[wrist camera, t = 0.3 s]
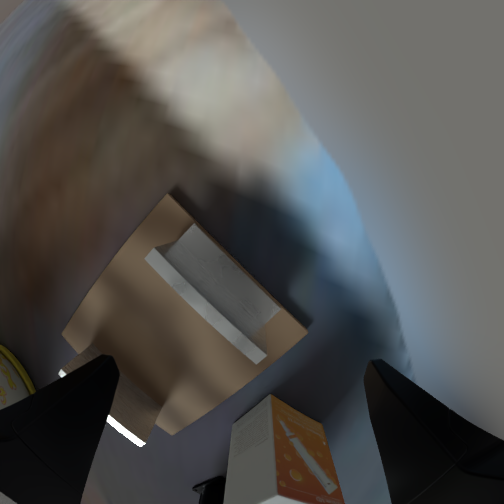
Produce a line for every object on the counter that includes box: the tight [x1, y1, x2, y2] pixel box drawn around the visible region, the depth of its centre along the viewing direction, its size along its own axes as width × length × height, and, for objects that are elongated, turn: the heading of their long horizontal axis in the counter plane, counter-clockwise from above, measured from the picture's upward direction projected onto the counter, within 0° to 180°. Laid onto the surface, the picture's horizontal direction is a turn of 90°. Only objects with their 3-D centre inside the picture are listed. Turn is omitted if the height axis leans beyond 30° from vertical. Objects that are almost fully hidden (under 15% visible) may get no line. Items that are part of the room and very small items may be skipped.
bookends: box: [58, 223, 281, 447], centre depth 20 cm, size 20×10×6 cm, turn 135°
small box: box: [223, 394, 345, 504], centre depth 19 cm, size 8×6×13 cm
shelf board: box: [62, 193, 308, 435], centre depth 24 cm, size 20×17×1 cm
